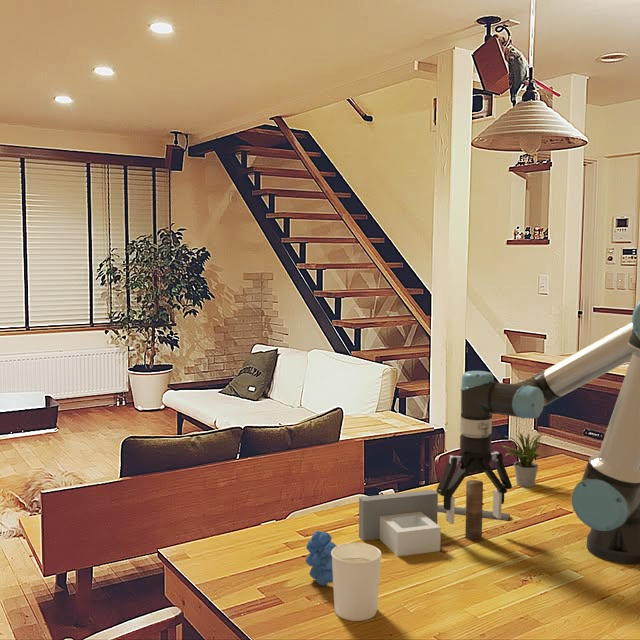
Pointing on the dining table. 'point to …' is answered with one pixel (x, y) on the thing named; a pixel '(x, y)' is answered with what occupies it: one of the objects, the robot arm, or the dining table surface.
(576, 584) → the dining table surface
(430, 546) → the white square open box
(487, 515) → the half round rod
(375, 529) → the wall
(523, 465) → the house plant
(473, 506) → the dowel
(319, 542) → the grapes
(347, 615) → the candle holder
